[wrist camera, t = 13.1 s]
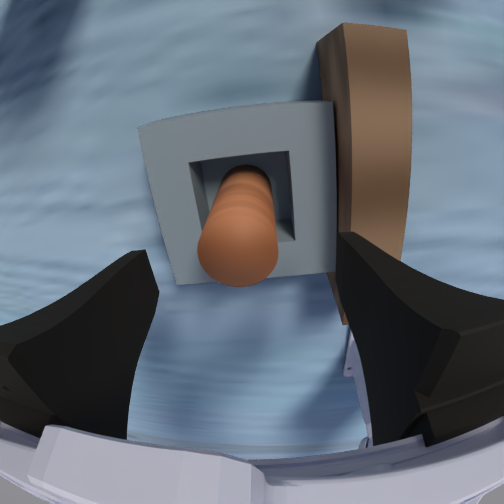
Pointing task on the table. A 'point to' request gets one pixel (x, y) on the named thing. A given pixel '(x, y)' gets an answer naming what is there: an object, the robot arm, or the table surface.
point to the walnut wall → (369, 132)
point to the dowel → (240, 229)
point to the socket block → (247, 153)
